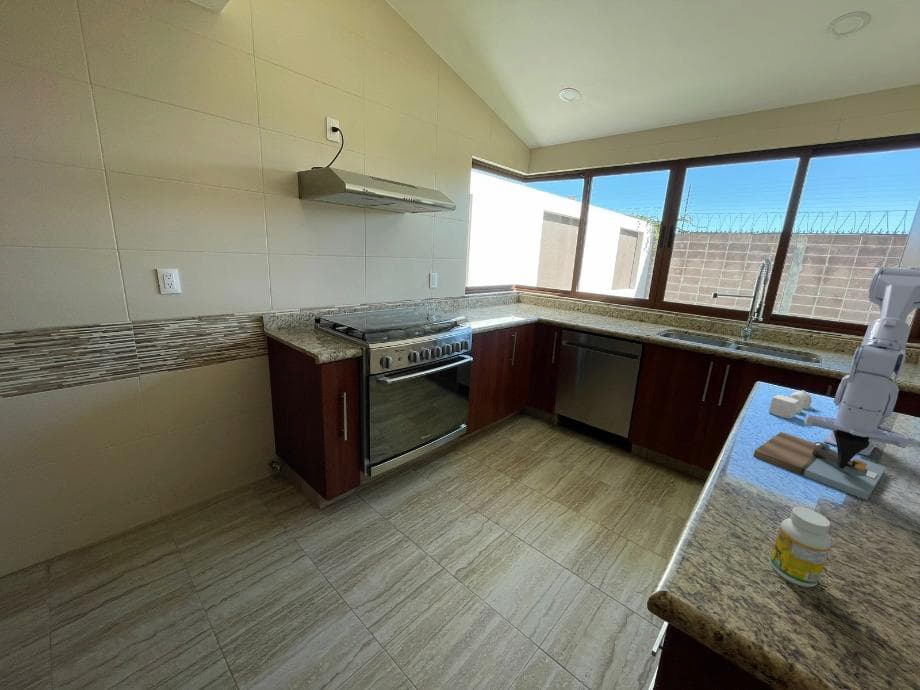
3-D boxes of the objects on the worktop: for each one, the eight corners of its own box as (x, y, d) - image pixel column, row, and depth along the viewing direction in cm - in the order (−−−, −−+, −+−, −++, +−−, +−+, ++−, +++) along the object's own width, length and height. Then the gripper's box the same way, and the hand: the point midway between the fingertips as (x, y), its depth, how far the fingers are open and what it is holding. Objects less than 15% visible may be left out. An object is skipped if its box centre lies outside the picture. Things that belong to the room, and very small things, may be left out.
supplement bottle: (818, 595, 51) (839, 536, 49) (768, 573, 54) (786, 516, 52) (815, 571, 55) (835, 515, 53) (769, 551, 58) (786, 498, 56)
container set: (789, 420, 108) (794, 403, 107) (767, 413, 113) (772, 396, 111) (812, 407, 119) (817, 391, 118) (791, 401, 123) (796, 386, 122)
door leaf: (826, 453, 90) (828, 446, 90) (883, 473, 83) (886, 466, 82) (803, 475, 80) (805, 468, 80) (866, 500, 73) (869, 493, 72)
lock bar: (808, 452, 86) (813, 439, 86) (819, 452, 86) (823, 440, 86) (853, 478, 77) (858, 464, 76) (865, 479, 77) (870, 465, 76)
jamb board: (779, 437, 97) (781, 431, 97) (826, 453, 90) (828, 447, 90) (753, 455, 87) (755, 449, 87) (803, 475, 80) (805, 469, 80)
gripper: (816, 401, 76) (797, 461, 79) (923, 423, 68) (897, 489, 71) (811, 392, 82) (793, 448, 85) (909, 411, 74) (885, 473, 77)
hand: (840, 466), depth 79 cm, fingers closed, pressing on lock bar
